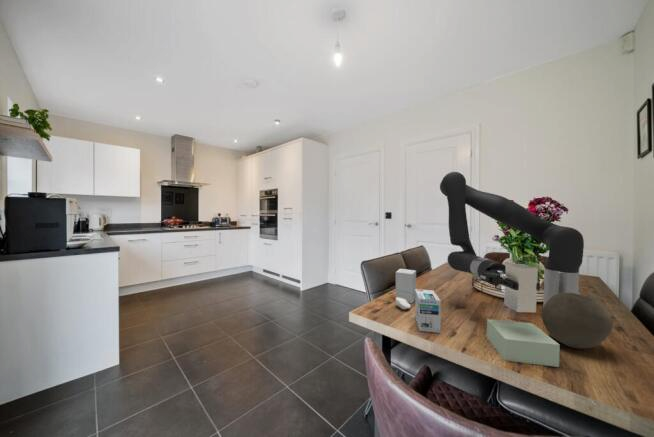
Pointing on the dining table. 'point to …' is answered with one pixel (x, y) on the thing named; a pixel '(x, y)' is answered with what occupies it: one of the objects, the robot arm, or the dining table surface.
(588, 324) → the brown coconut
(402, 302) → the dumpling
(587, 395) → the dining table surface
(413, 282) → the supplement box
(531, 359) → the green box
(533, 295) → the tea tin
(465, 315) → the dining table surface
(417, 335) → the dining table surface
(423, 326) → the light bulb box
